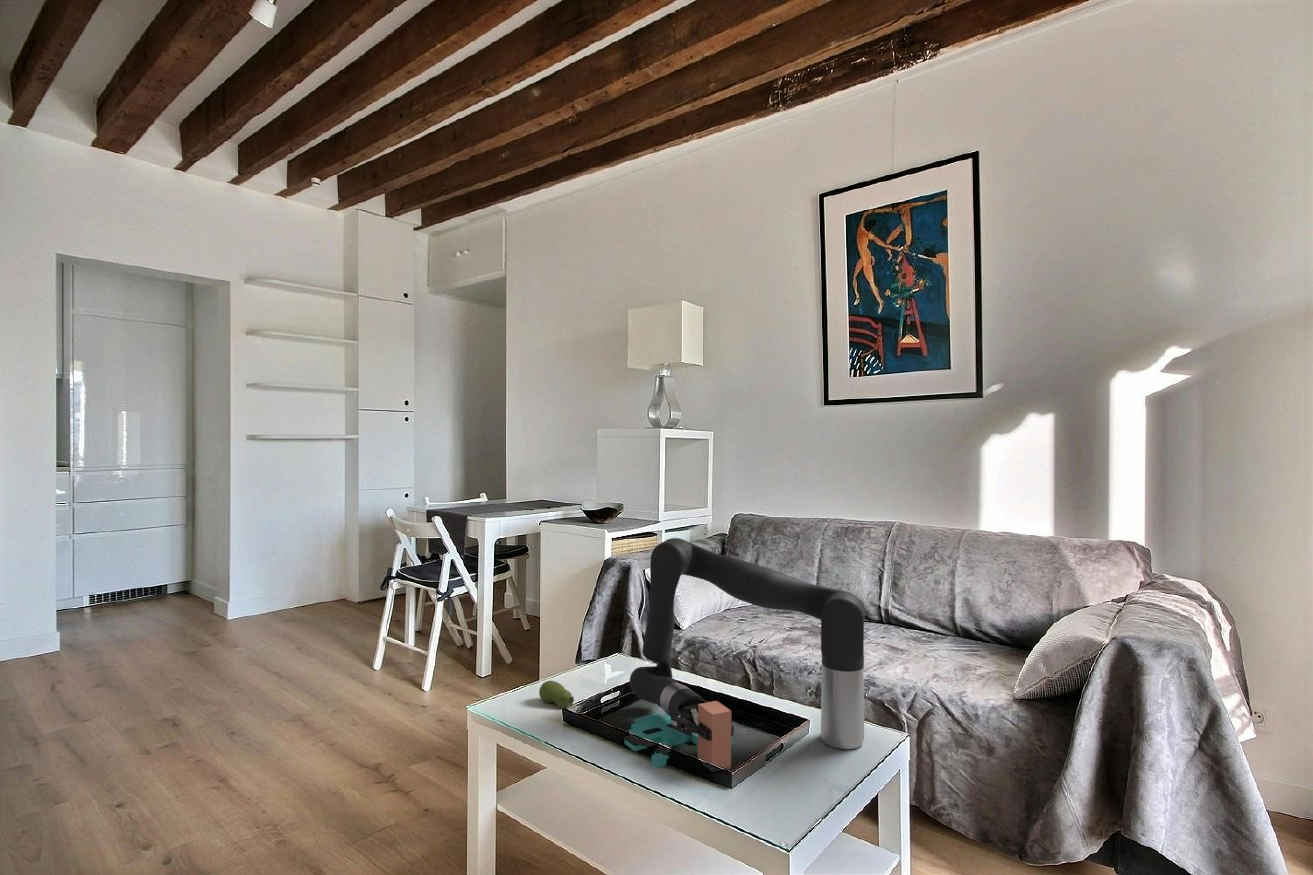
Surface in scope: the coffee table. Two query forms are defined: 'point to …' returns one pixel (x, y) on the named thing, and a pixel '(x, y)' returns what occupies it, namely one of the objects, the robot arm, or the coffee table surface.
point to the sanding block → (715, 734)
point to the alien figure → (659, 735)
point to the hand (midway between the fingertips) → (721, 733)
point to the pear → (555, 694)
